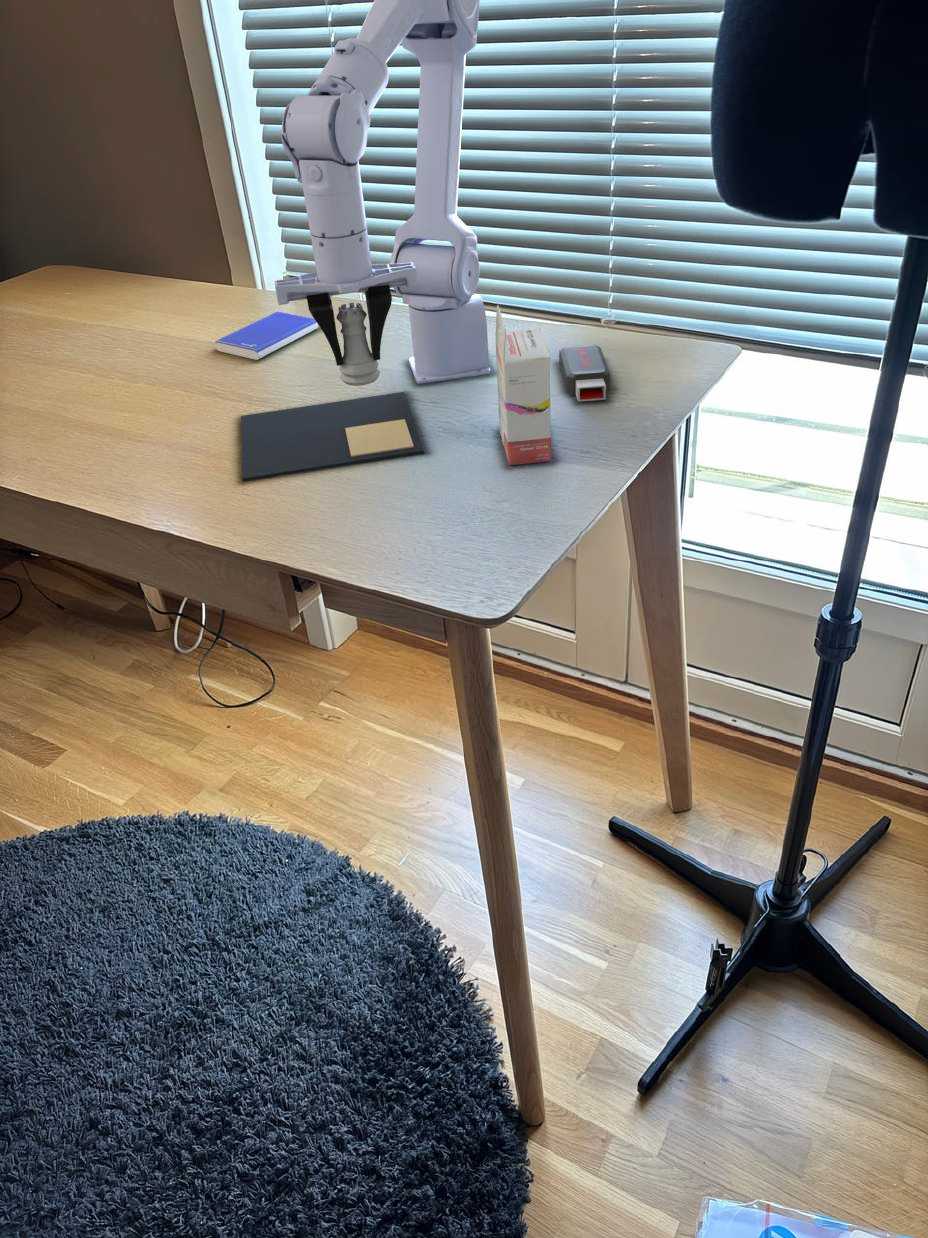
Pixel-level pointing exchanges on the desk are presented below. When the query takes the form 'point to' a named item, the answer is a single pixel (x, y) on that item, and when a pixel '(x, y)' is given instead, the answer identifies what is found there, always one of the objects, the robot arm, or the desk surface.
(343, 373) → the rook chess piece
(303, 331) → the hard drive
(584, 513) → the desk surface
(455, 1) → the robot arm
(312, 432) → the desk pad
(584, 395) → the usb drive
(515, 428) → the ink cartridge box
